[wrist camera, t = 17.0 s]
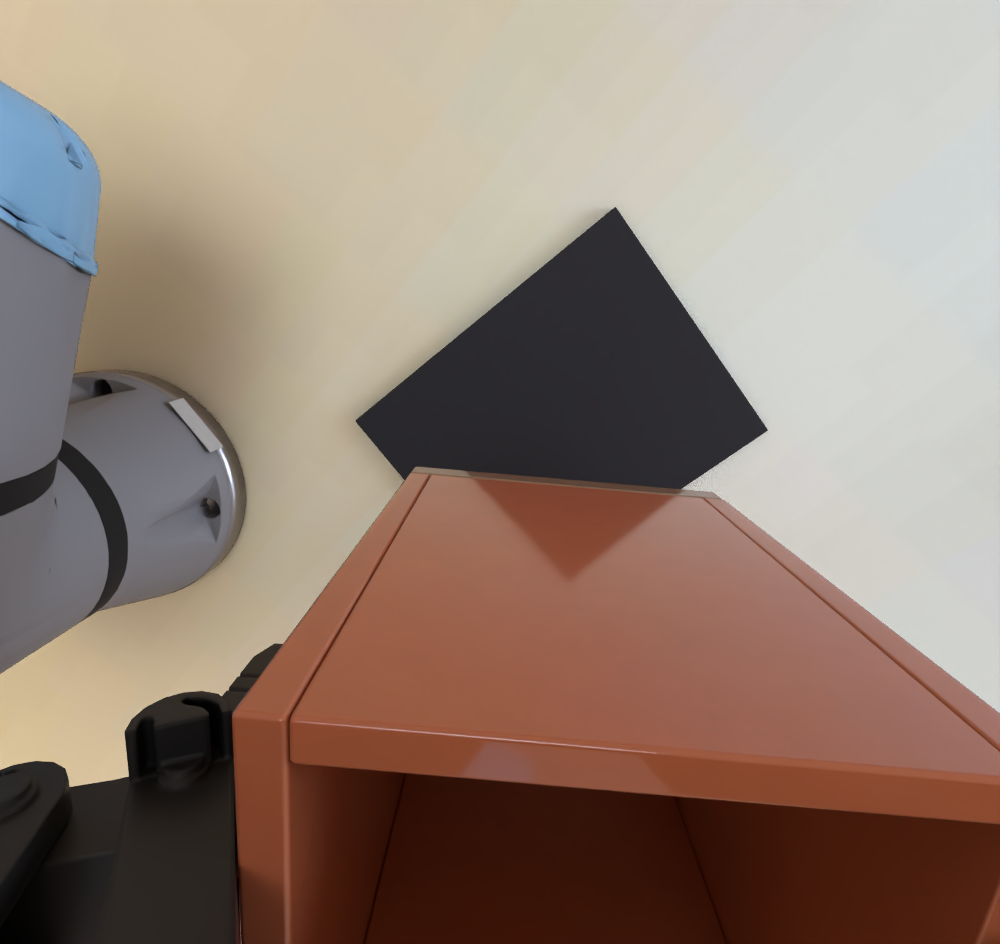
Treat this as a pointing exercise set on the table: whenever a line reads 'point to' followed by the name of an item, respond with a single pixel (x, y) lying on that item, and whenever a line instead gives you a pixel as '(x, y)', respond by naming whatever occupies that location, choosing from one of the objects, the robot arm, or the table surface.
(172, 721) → the robot arm
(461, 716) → the open square box
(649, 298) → the mat
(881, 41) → the table surface
